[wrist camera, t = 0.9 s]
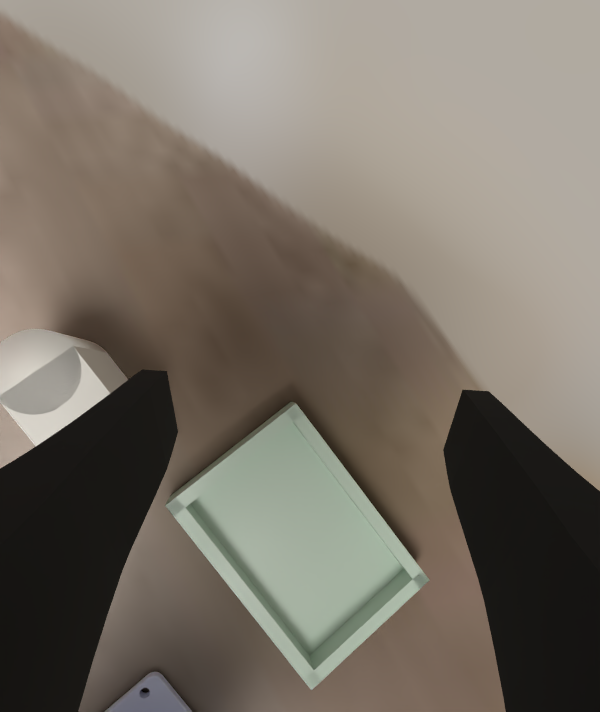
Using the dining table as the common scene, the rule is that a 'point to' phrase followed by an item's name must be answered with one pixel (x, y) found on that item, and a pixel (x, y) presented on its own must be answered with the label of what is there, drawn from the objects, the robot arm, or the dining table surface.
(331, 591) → the tray
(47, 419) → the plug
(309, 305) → the dining table surface
